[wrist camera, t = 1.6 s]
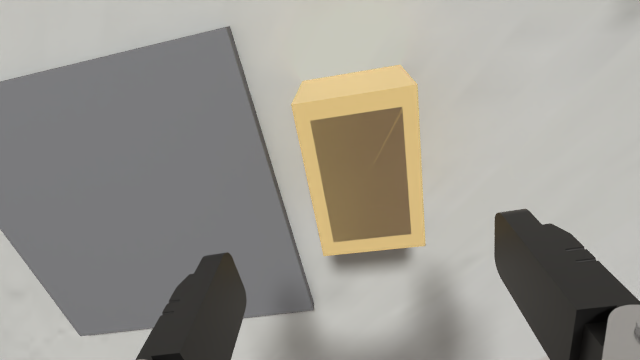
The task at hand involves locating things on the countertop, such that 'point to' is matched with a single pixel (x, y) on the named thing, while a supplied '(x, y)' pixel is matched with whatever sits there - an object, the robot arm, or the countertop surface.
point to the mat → (143, 183)
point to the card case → (363, 159)
